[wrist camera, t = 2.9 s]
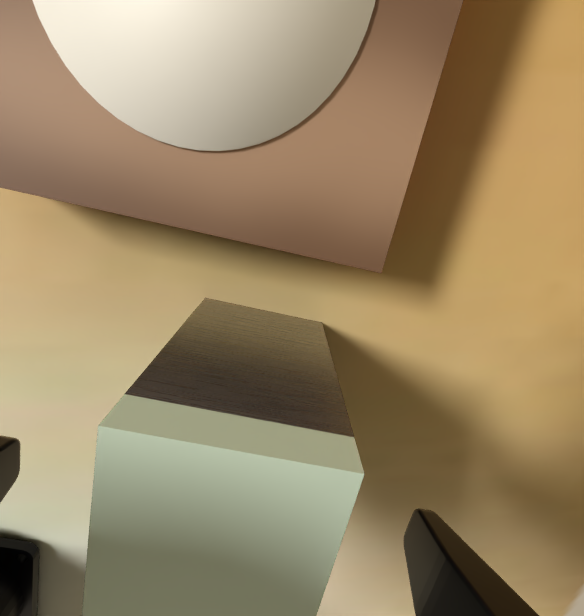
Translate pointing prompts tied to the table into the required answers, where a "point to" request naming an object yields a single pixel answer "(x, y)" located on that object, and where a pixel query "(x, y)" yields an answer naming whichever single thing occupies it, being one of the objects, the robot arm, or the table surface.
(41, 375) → the table surface
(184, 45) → the walnut step
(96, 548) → the metal column
